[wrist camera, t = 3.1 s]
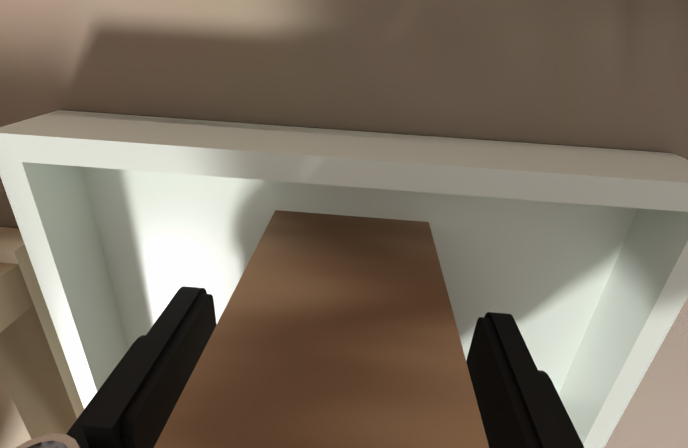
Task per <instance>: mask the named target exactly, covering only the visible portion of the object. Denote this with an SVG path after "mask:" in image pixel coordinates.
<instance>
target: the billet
mask: <svg viewBox="0 0 688 448" xmlns="http://www.w3.org/2000/svg"><path fill="white" fill-rule="evenodd" d="M154 448H489V445H488V441H487V437H486V434H485V430H484V426H483V422H482V419H481V415H480V411H479V407H478V404H477V400H476V396H475V393H474V389H473V385H472V381H471V378H470V374H469V370H468V366H467V363H466V359H465V355H464V352H463V348H462V344H461V340H460V337H459V333H458V329H457V325H456V322H455V318H454V314H453V311H452V307H451V303H450V299H449V296H448V292H447V288H446V284H445V281H444V277H443V273H442V270H441V266H440V262H439V258H438V255H437V251H436V247H435V243H434V240H433V236H432V232H431V229H430V225H429V222H423V221H410V220H397V219H384V218H371V217H358V216H345V215H332V214H319V213H307V212H294V211H281V210H275V212H274V214H273V216H272V218H271V220H270V222H269V224H268V225H267V227H266V229H265V231H264V233H263V235H262V237H261V239H260V241H259V243H258V245H257V247H256V249H255V251H254V253H253V255H252V257H251V259H250V261H249V263H248V265H247V267H246V268H245V270H244V272H243V274H242V276H241V278H240V280H239V282H238V284H237V286H236V288H235V290H234V292H233V294H232V296H231V298H230V300H229V302H228V304H227V306H226V308H225V309H224V311H223V313H222V315H221V317H220V319H219V321H218V323H217V325H216V327H215V329H214V331H213V333H212V335H211V337H210V339H209V341H208V343H207V345H206V347H205V349H204V351H203V352H202V354H201V356H200V358H199V360H198V362H197V364H196V366H195V368H194V370H193V372H192V374H191V376H190V378H189V380H188V382H187V384H186V386H185V388H184V390H183V392H182V393H181V395H180V397H179V399H178V401H177V403H176V405H175V407H174V409H173V411H172V413H171V415H170V417H169V419H168V421H167V423H166V425H165V427H164V429H163V431H162V433H161V434H160V436H159V438H158V440H157V442H156V444H155V446H154Z"/></svg>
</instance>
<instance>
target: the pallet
mask: <svg viewBox="0 0 688 448" xmlns="http://www.w3.org/2000/svg"><path fill="white" fill-rule="evenodd" d="M83 411H84V408H83V405H82V402H81V399H80V396H79V394H78V391H77V388H76V385H75V383H74V380H73V377H72V374H71V371H70V369H69V366H68V363H67V360H66V358H65V355H64V352H63V349H62V346H61V344H60V341H59V338H58V335H57V333H56V330H55V327H54V324H53V321H52V319H51V316H50V313H49V310H48V308H47V305H46V302H45V299H44V296H43V294H42V291H41V288H40V285H39V283H38V280H37V277H36V274H35V271H34V269H33V266H32V263H31V260H30V258H29V255H28V252H27V249H26V246H25V244H24V241H23V238H22V235H21V233H20V230H19V228H9V227H0V448H16V447H18V446H19V445H21V444H23V443H25V442H26V441H28V440H31V439H34V438H36V437H39V436H42V435H47V434H54V433H58V434H67V432H68V431H69V430H70V428H71V427H72V425H73V424H74V423H75V421H76V420H77V419H78V417H79V416H80V415H81V413H82V412H83Z"/></svg>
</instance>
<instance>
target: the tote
mask: <svg viewBox="0 0 688 448" xmlns="http://www.w3.org/2000/svg"><path fill="white" fill-rule="evenodd" d="M0 177H1V180H2V183H3V185H4V188H5V191H6V194H7V196H8V199H9V202H10V205H11V208H12V210H13V213H14V216H15V219H16V221H17V224H18V227H19V230H20V233H21V235H22V238H23V241H24V244H25V246H26V249H27V252H28V255H29V258H30V260H31V263H32V266H33V269H34V271H35V274H36V277H37V280H38V283H39V285H40V288H41V291H42V294H43V296H44V299H45V302H46V305H47V308H48V310H49V313H50V316H51V319H52V321H53V324H54V327H55V330H56V333H57V335H58V338H59V341H60V344H61V346H62V349H63V352H64V355H65V358H66V360H67V363H68V366H69V369H70V371H71V374H72V377H73V380H74V383H75V385H76V388H77V391H78V394H79V396H80V399H81V402H82V405H83V408H84V409H85V408H86V406H87V405H88V404H89V402H90V401H91V400H92V398H93V397H94V396H95V394H96V393H97V392H98V390H99V389H100V388H101V386H102V385H103V383H104V382H105V381H106V379H107V378H108V377H109V375H110V374H111V373H112V371H113V370H114V369H115V367H116V366H117V364H118V363H119V362H120V360H121V359H122V358H123V356H124V355H125V354H126V352H127V351H128V350H129V348H130V347H131V346H132V344H133V343H134V342H135V341H136V339H137V338H138V337H140V336H142V335H146V334H147V333H148V332H149V330H150V329H151V327H152V326H153V325H154V323H155V322H156V320H157V319H158V318H159V316H160V315H161V313H162V312H163V311H164V309H165V308H166V306H167V305H168V304H169V302H170V301H171V299H172V298H173V297H174V295H175V294H176V292H177V291H178V290H179V289H180V288H181V287H182V286H186V287H198V288H205V289H206V291H207V294H211V295H212V296H213V300H214V308H215V317H216V325H217V323H218V321H219V319H220V317H221V315H222V313H223V311H224V309H225V308H226V306H227V304H228V302H229V300H230V298H231V296H232V294H233V292H234V290H235V288H236V286H237V284H238V282H239V280H240V278H241V276H242V274H243V272H244V270H245V268H246V267H247V265H248V263H249V261H250V259H251V257H252V255H253V253H254V251H255V249H256V247H257V245H258V243H259V241H260V239H261V237H262V235H263V233H264V231H265V229H266V227H267V225H268V224H269V222H270V220H271V218H272V216H273V214H274V212H275V210H281V211H294V212H307V213H319V214H332V215H345V216H358V217H371V218H384V219H397V220H410V221H423V222H429V225H430V229H431V232H432V236H433V240H434V243H435V247H436V251H437V255H438V258H439V262H440V266H441V270H442V273H443V277H444V281H445V284H446V288H447V292H448V296H449V299H450V303H451V307H452V311H453V314H454V318H455V322H456V325H457V329H458V333H459V337H460V340H461V344H462V348H463V352H464V355H465V359H466V360H467V356H468V353H469V349H470V345H471V341H472V338H473V334H474V330H475V326H476V322H477V319H478V318H479V317H485V314H486V313H487V312H494V313H506V314H511V315H512V316H513V318H514V320H515V322H516V324H517V326H518V328H519V330H520V333H521V335H522V337H523V339H524V341H525V343H526V346H527V348H528V350H529V352H530V354H531V356H532V358H533V361H534V363H535V365H536V367H537V369H538V370H541V371H545V372H546V373H547V374H548V375H549V377H550V379H551V380H552V382H553V384H554V386H555V389H556V391H557V393H558V395H559V397H560V399H561V401H562V403H563V405H564V407H565V409H566V411H567V413H568V415H569V417H570V419H571V421H572V423H573V425H574V427H575V429H576V431H577V433H578V436H579V438H580V440H581V442H582V444H583V446H584V448H604V447H605V445H606V443H607V441H608V439H609V438H610V436H611V434H612V432H613V430H614V429H615V427H616V425H617V423H618V421H619V420H620V418H621V416H622V414H623V412H624V411H625V409H626V407H627V405H628V403H629V402H630V400H631V398H632V396H633V394H634V393H635V391H636V389H637V387H638V385H639V384H640V382H641V380H642V378H643V376H644V375H645V373H646V371H647V369H648V367H649V366H650V364H651V362H652V360H653V358H654V357H655V355H656V353H657V351H658V349H659V348H660V346H661V344H662V342H663V340H664V339H665V337H666V335H667V333H668V331H669V330H670V328H671V326H672V324H673V322H674V321H675V319H676V317H677V315H678V313H679V312H680V310H681V308H682V306H683V304H684V303H685V301H686V299H687V297H688V160H687V159H685V158H683V157H680V156H678V155H676V154H674V153H664V152H650V151H636V150H621V149H607V148H593V147H579V146H564V145H550V144H536V143H522V142H507V141H493V140H479V139H465V138H450V137H436V136H422V135H408V134H393V133H379V132H365V131H351V130H336V129H322V128H308V127H294V126H280V125H265V124H251V123H237V122H223V121H208V120H194V119H180V118H166V117H151V116H137V115H123V114H109V113H94V112H80V111H66V110H57V111H54V112H50V113H47V114H44V115H40V116H37V117H33V118H30V119H27V120H23V121H20V122H16V123H13V124H9V125H6V126H3V127H0Z"/></svg>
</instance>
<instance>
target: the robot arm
mask: <svg viewBox="0 0 688 448" xmlns="http://www.w3.org/2000/svg"><path fill="white" fill-rule="evenodd" d="M215 327H216V317H215V308H214V300H213V296H212V295H211V294H207V291H206V289H205V288H198V287H186V286H182V287H181V288H180V289H179V290H178V291H177V292H176V294H175V295H174V297H173V298H172V299H171V301H170V302H169V304H168V305H167V306H166V308H165V309H164V311H163V312H162V313H161V315H160V316H159V318H158V319H157V320H156V322H155V323H154V325H153V326H152V327H151V329H150V330H149V332H148V333H147V334H146V335H142V336H140V337H138V338H137V339H136V341H135V342H134V343H133V344H132V346H131V347H130V348H129V350H128V351H127V352H126V354H125V355H124V356H123V358H122V359H121V360H120V362H119V363H118V364H117V366H116V367H115V369H114V370H113V371H112V373H111V374H110V375H109V377H108V378H107V379H106V381H105V382H104V383H103V385H102V386H101V388H100V389H99V390H98V392H97V393H96V394H95V396H94V397H93V398H92V400H91V401H90V402H89V404H88V405H87V406H86V408H85V409H84V411H83V412H82V413H81V415H80V416H79V417H78V419H77V420H76V421H75V423H74V424H73V425H72V427H71V428H70V430H69V431H68V432H67V434H58V433H54V434H47V435H42V436H39V437H36V438H34V439H31V440H28V441H26V442H25V443H23V444H21V445H19V446H18V447H16V448H154V446H155V444H156V442H157V440H158V438H159V436H160V434H161V433H162V431H163V429H164V427H165V425H166V423H167V421H168V419H169V417H170V415H171V413H172V411H173V409H174V407H175V405H176V403H177V401H178V399H179V397H180V395H181V393H182V392H183V390H184V388H185V386H186V384H187V382H188V380H189V378H190V376H191V374H192V372H193V370H194V368H195V366H196V364H197V362H198V360H199V358H200V356H201V354H202V352H203V351H204V349H205V347H206V345H207V343H208V341H209V339H210V337H211V335H212V333H213V331H214V329H215ZM466 363H467V366H468V370H469V374H470V378H471V381H472V385H473V389H474V393H475V396H476V400H477V404H478V407H479V411H480V415H481V419H482V422H483V426H484V430H485V434H486V437H487V441H488V445H489V448H584V446H583V444H582V442H581V440H580V438H579V436H578V433H577V431H576V429H575V427H574V425H573V423H572V421H571V419H570V417H569V415H568V413H567V411H566V409H565V407H564V405H563V403H562V401H561V399H560V397H559V395H558V393H557V391H556V389H555V386H554V384H553V382H552V380H551V379H550V377H549V375H548V374H547V373H546V372H545V371H541V370H538V369H537V367H536V365H535V363H534V361H533V358H532V356H531V354H530V352H529V350H528V348H527V346H526V343H525V341H524V339H523V337H522V335H521V333H520V330H519V328H518V326H517V324H516V322H515V320H514V318H513V316H512V315H511V314H506V313H494V312H487V313H486V314H485V317H479V318H478V319H477V322H476V326H475V330H474V334H473V338H472V341H471V345H470V349H469V353H468V356H467V360H466Z"/></svg>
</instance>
